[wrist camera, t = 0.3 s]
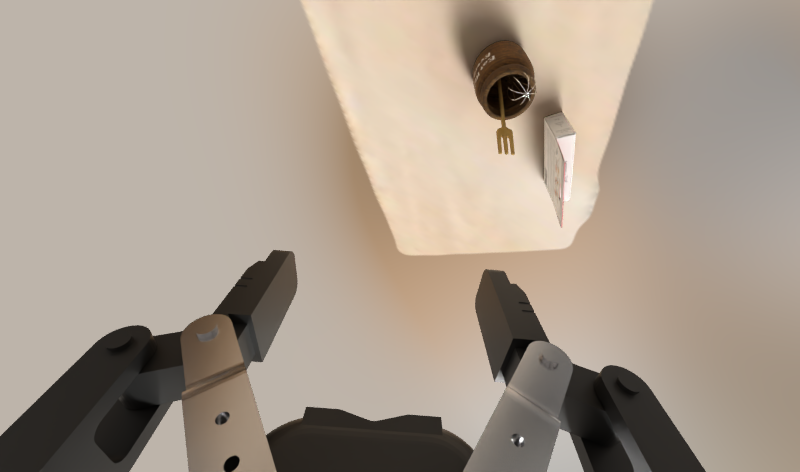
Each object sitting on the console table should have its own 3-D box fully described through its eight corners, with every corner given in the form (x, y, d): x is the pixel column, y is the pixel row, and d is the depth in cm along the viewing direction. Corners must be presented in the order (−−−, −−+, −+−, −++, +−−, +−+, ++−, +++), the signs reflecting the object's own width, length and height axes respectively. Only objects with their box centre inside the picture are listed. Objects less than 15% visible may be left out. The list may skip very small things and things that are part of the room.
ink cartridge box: (563, 110, 37) (590, 156, 30) (560, 177, 44) (581, 225, 38) (542, 116, 37) (564, 162, 31) (542, 181, 45) (560, 229, 39)
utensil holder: (534, 39, 31) (568, 90, 23) (514, 99, 36) (537, 157, 28) (478, 35, 31) (494, 84, 23) (466, 95, 36) (475, 152, 28)
